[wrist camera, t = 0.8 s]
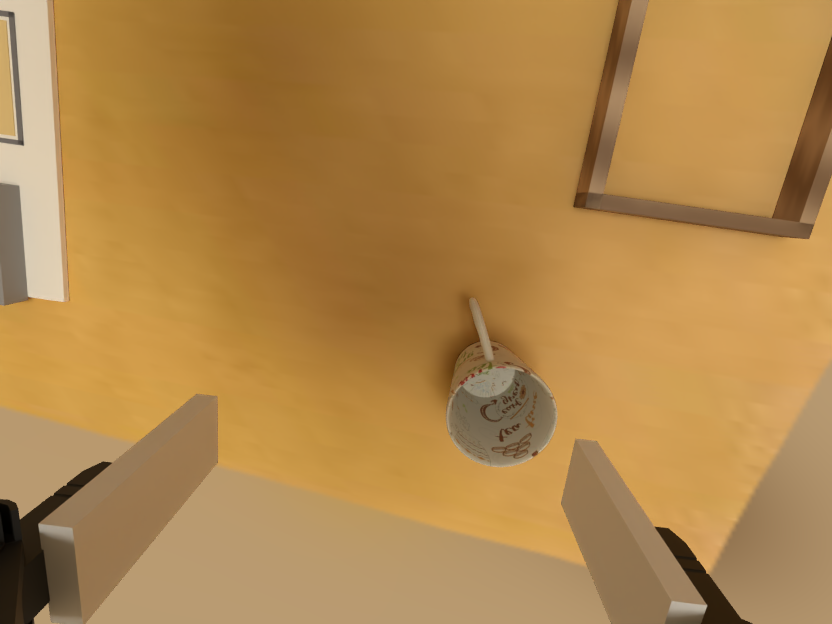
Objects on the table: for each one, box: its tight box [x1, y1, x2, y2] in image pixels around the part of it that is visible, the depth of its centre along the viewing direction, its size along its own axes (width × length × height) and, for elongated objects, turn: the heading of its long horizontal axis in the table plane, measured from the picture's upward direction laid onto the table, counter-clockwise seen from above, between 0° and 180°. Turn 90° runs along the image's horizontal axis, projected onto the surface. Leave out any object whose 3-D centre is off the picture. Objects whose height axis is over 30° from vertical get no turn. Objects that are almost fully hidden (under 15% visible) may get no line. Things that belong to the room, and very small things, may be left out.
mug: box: [446, 297, 557, 467], centre depth 37 cm, size 8×13×10 cm, turn 16°
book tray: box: [574, 0, 832, 239], centre depth 34 cm, size 23×18×3 cm
